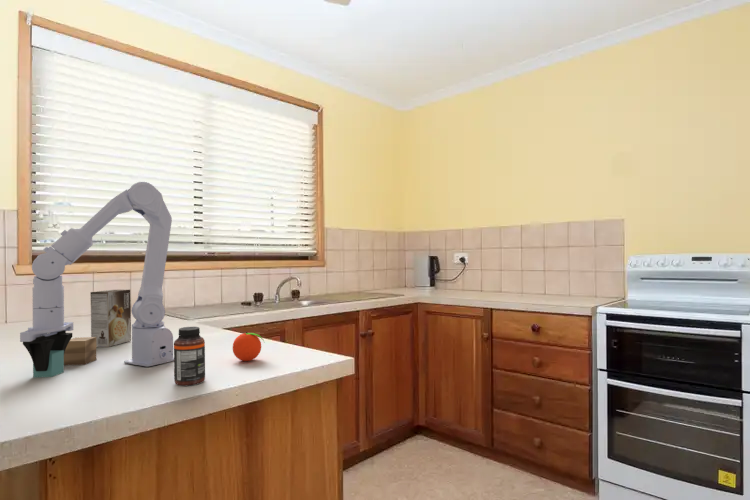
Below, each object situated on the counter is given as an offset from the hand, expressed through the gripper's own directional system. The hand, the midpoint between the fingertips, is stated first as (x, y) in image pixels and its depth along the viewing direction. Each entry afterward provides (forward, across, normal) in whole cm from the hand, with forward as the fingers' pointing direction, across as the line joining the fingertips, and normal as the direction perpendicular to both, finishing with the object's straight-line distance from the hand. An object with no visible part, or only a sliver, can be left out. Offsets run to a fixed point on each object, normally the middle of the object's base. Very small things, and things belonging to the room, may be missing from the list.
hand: (48, 368), depth 101 cm
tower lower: (+2, -12, 0) cm, 12 cm away
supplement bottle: (+2, +9, +34) cm, 35 cm away
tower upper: (-1, -12, 0) cm, 12 cm away
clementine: (+2, -10, +42) cm, 43 cm away
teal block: (+1, 0, 0) cm, 1 cm away
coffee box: (+2, -36, -5) cm, 36 cm away
